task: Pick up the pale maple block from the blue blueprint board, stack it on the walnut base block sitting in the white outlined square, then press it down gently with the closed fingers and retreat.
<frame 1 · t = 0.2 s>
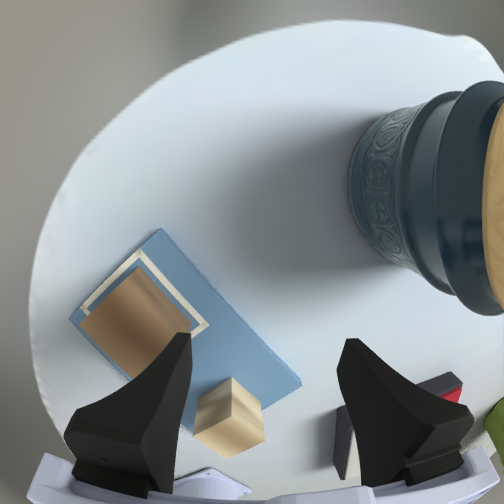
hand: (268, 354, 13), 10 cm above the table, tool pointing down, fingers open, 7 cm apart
blueprint board: (184, 352, 25), on the table
walnut base: (140, 316, 23), point 1 cm above the table, touching blueprint board
canister: (411, 187, 22), on the table
maple block: (229, 400, 25), point 1 cm above the table, touching blueprint board
multicoloured piece: (392, 418, 29), on the table
plant pot: (497, 410, 32), on the table
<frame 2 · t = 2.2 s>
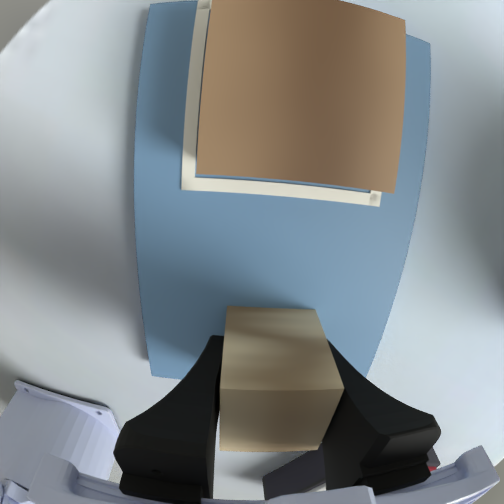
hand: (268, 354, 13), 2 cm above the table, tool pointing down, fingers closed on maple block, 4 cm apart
blueprint board: (279, 214, 13), on the table
walnut base: (294, 94, 10), point 1 cm above the table, touching blueprint board
maple block: (267, 342, 14), point 1 cm above the table, touching blueprint board, gripper
multicoloured piece: (355, 463, 22), on the table
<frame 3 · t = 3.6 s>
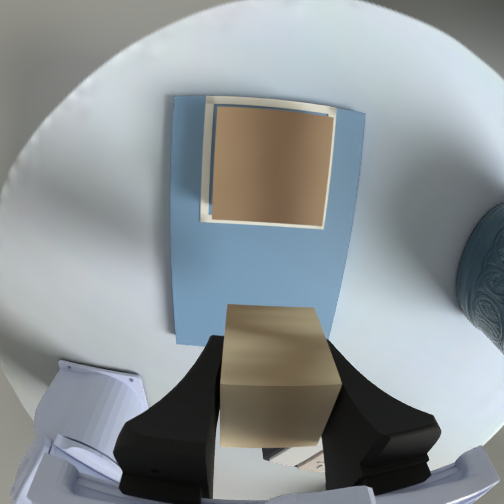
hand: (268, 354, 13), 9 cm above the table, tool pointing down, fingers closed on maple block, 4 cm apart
blueprint board: (260, 235, 21), on the table
walnut base: (267, 162, 18), point 1 cm above the table, touching blueprint board
canister: (496, 261, 22), on the table
maple block: (267, 340, 14), point 8 cm above the table, touching gripper
multicoloured piece: (337, 426, 30), on the table
when the fingers open (6 cm above the table, at t = 4.9 s): maple block stays where it is, resting on walnut base.
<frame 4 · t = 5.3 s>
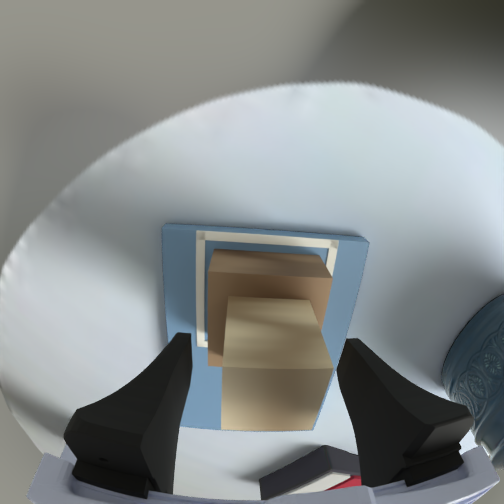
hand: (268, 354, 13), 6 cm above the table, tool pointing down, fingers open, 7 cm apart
blueprint board: (255, 351, 21), on the table
walnut base: (262, 298, 18), point 1 cm above the table, touching blueprint board, maple block
canister: (486, 343, 23), on the table
maple block: (265, 331, 15), point 4 cm above the table, touching walnut base
multicoloured piece: (329, 471, 30), on the table
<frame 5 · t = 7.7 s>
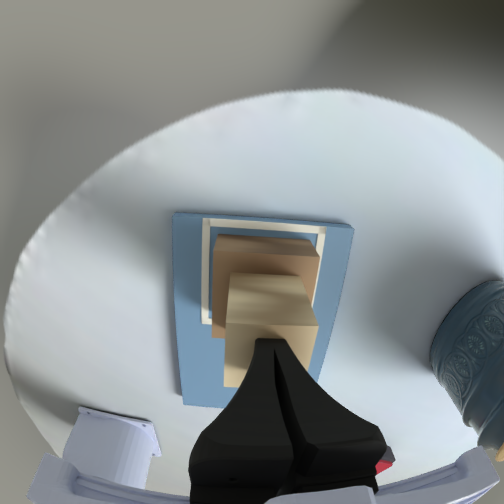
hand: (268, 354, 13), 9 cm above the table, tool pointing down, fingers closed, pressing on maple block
blueprint board: (254, 329, 23), on the table
walnut base: (260, 278, 21), point 1 cm above the table, touching blueprint board, maple block
canister: (472, 329, 25), on the table
maple block: (262, 304, 18), point 4 cm above the table, touching gripper, walnut base
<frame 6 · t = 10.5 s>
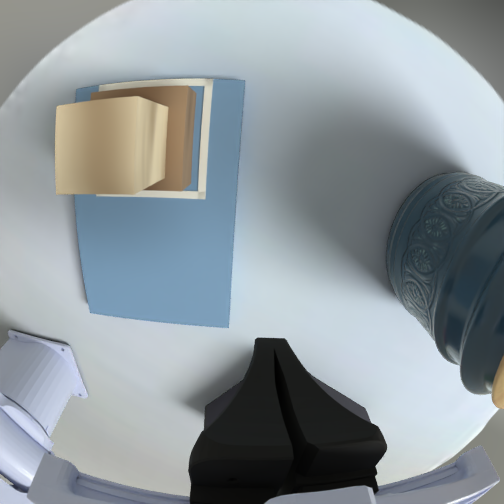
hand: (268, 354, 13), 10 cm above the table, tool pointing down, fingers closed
blueprint board: (151, 207, 21), on the table
walnut base: (148, 138, 18), point 1 cm above the table, touching blueprint board, maple block
canister: (443, 242, 22), on the table
maple block: (132, 142, 15), point 4 cm above the table, touching walnut base
multicoloured piece: (290, 408, 29), on the table
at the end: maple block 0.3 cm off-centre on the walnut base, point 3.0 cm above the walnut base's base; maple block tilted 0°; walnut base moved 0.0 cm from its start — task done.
